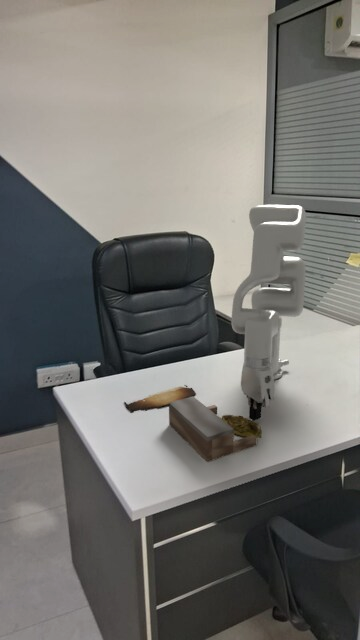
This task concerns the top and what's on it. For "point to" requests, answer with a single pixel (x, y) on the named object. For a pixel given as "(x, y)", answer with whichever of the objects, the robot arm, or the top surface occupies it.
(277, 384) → the top surface
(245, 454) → the top surface
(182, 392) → the parchment
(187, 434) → the wooden step block
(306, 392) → the top surface
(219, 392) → the top surface
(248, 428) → the mottled yellow-brown oval piece
